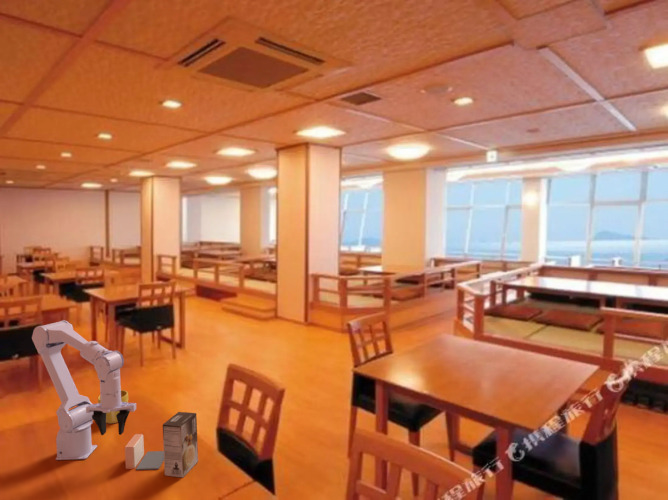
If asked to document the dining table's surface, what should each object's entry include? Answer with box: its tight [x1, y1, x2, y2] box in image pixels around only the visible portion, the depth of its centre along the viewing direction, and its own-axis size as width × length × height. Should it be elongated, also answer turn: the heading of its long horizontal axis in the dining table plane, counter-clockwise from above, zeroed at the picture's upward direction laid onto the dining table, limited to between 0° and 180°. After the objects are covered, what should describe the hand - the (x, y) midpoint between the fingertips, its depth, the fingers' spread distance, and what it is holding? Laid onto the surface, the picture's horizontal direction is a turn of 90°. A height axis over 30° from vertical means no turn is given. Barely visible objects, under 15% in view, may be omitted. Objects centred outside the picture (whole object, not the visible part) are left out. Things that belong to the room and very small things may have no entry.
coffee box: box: [162, 411, 199, 478], centre depth 137 cm, size 9×6×16 cm
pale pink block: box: [124, 433, 145, 470], centre depth 141 cm, size 3×8×7 cm, turn 3°
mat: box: [135, 450, 164, 471], centre depth 142 cm, size 7×10×1 cm
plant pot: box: [97, 389, 129, 424], centre depth 170 cm, size 10×10×10 cm
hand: (112, 433), depth 140 cm, fingers open, 5 cm apart
